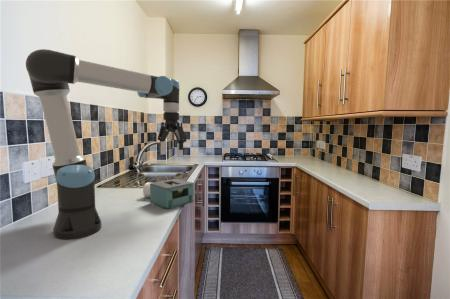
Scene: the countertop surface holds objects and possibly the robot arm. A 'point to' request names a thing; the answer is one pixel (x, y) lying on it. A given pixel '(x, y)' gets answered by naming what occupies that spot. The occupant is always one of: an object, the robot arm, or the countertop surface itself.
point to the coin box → (170, 193)
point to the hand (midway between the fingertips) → (171, 155)
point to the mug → (146, 190)
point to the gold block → (176, 193)
